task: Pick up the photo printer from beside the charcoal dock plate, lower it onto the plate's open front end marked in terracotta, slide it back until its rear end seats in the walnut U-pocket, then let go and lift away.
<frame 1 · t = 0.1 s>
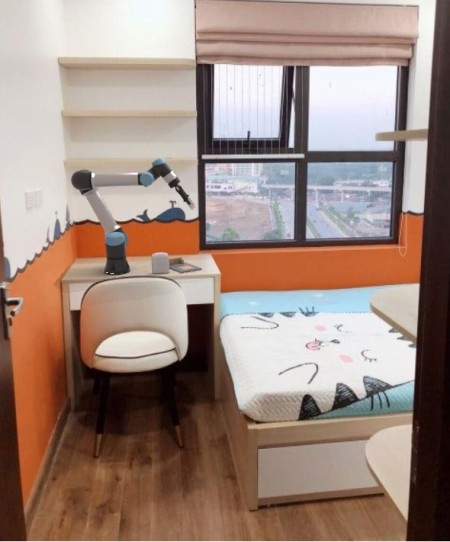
hand: (193, 207, 324), 36 cm above the table, tool tilted 35°, fingers open, 13 cm apart
dock: (183, 268, 322), on the table
photo printer: (160, 273, 312), on the table
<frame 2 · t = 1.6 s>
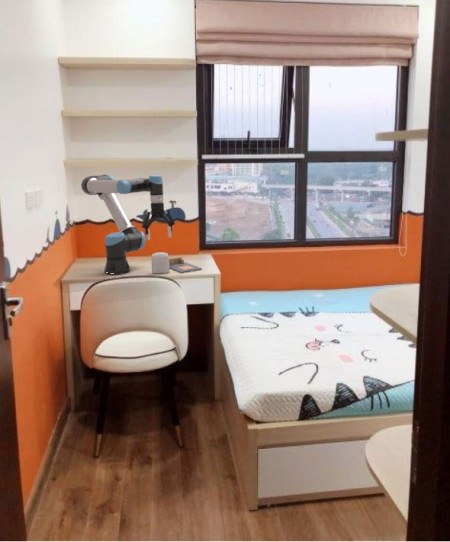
hand: (159, 238, 307), 21 cm above the table, tool pointing down, fingers open, 13 cm apart
nothing on the table moved.
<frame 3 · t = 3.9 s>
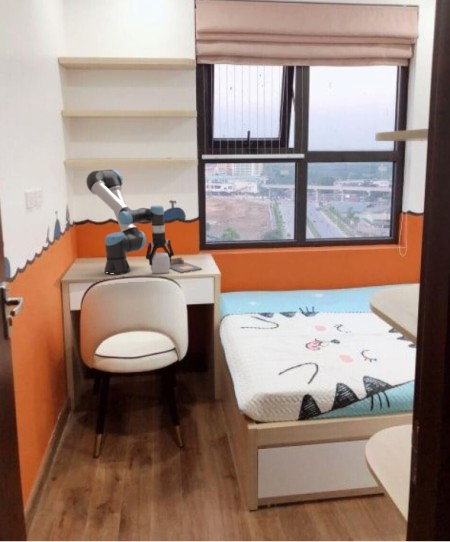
hand: (160, 269, 311), 2 cm above the table, tool pointing down, fingers closed on photo printer, 10 cm apart
photo printer: (160, 273, 312), on the table, touching gripper
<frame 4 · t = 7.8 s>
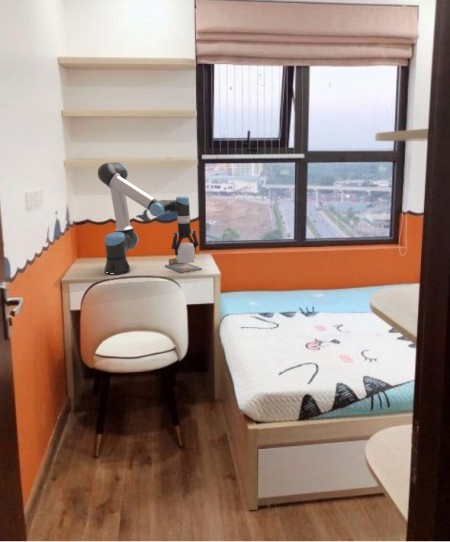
hand: (185, 259, 317), 6 cm above the table, tool pointing down, fingers closed on photo printer, 10 cm apart
photo printer: (186, 262, 317), point 4 cm above the table, touching gripper
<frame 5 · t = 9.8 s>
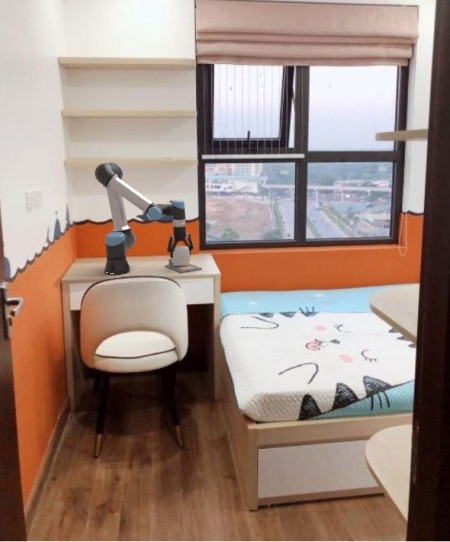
hand: (180, 261, 322), 4 cm above the table, tool pointing down, fingers closed on photo printer, 10 cm apart
photo printer: (181, 265, 323), point 1 cm above the table, touching gripper
when the fingers open (4 cm above the table, at t = 11.6 s): photo printer stays where it is, resting on dock.
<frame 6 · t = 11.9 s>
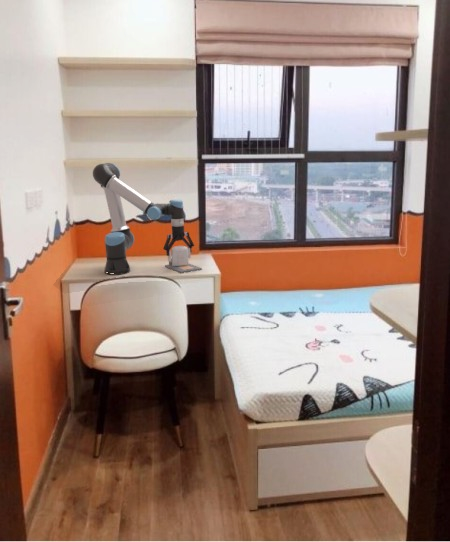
hand: (179, 259, 324), 5 cm above the table, tool pointing down, fingers open, 13 cm apart
photo printer: (180, 265, 324), point 1 cm above the table, touching dock
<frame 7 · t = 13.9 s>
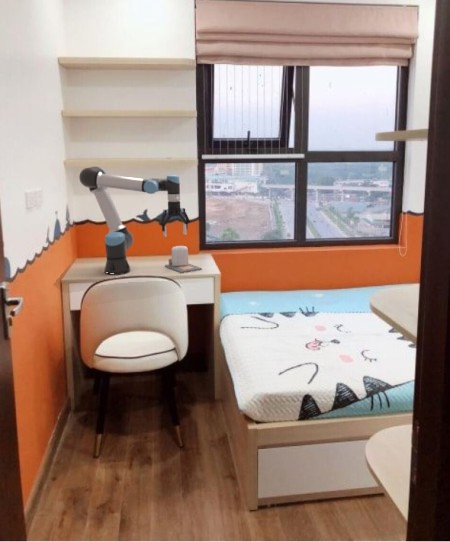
hand: (175, 235, 322), 20 cm above the table, tool pointing down, fingers open, 13 cm apart
nothing on the table moved.
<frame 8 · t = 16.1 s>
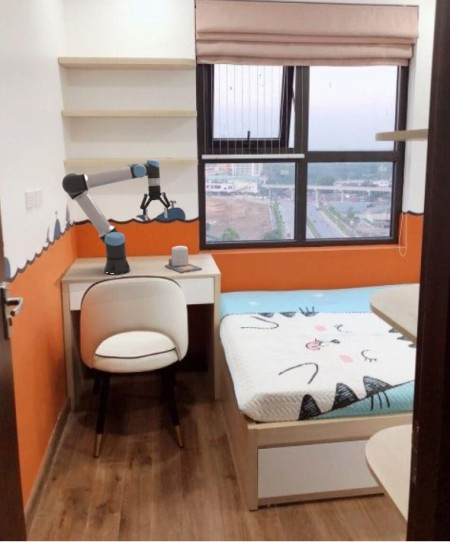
hand: (156, 219, 330), 29 cm above the table, tool pointing down, fingers open, 13 cm apart
nothing on the table moved.
at the end: photo printer 0.8 cm from the target spot on the dock, point 0.8 cm above the dock's base; photo printer tilted 0°; the gripper is holding nothing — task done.
